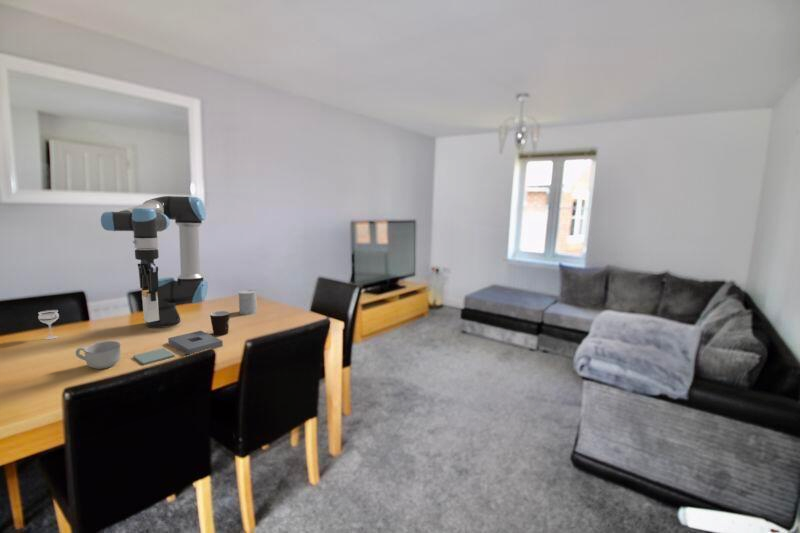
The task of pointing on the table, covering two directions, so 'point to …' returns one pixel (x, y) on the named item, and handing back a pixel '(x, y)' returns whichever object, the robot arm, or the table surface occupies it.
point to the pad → (153, 356)
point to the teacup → (101, 354)
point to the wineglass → (49, 319)
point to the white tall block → (148, 314)
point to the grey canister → (247, 302)
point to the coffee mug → (220, 322)
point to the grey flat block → (194, 342)
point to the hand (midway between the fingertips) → (150, 307)
